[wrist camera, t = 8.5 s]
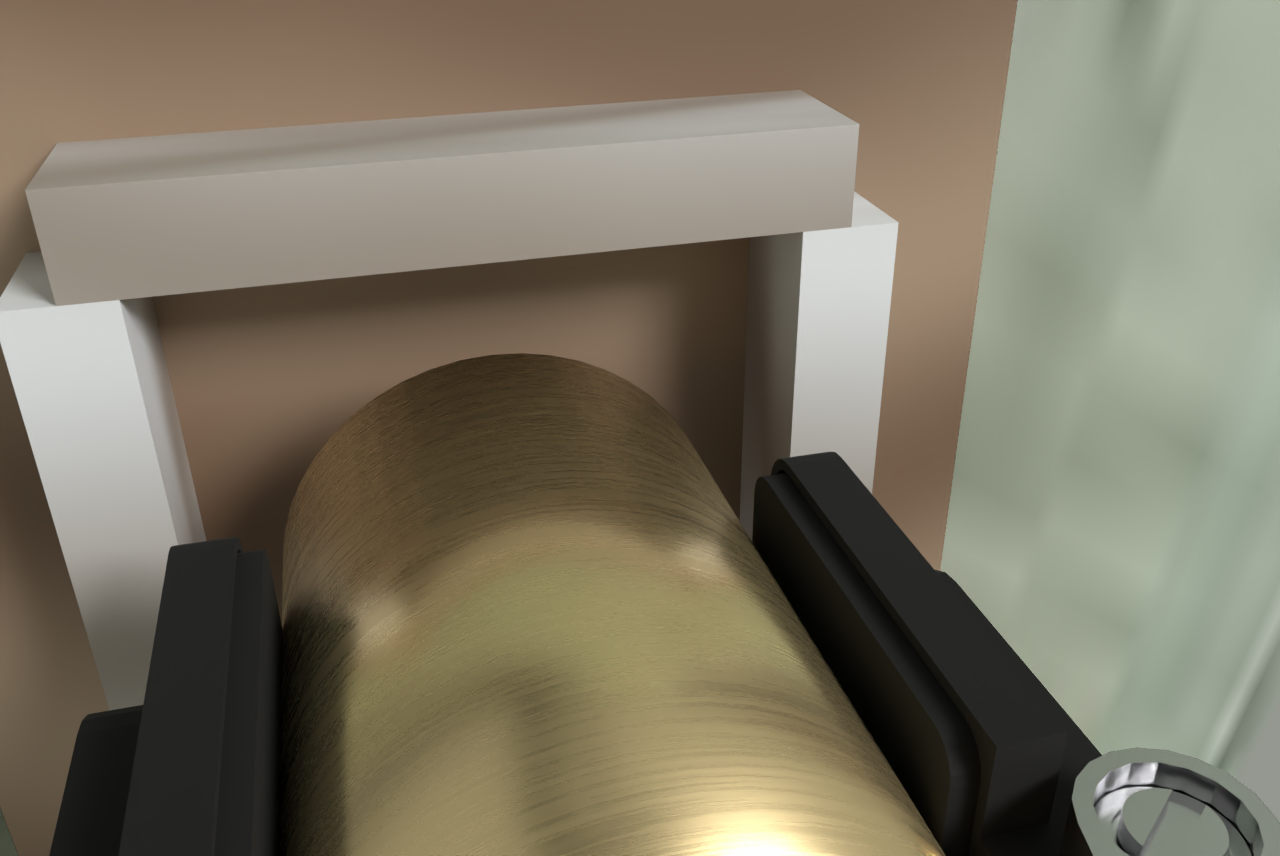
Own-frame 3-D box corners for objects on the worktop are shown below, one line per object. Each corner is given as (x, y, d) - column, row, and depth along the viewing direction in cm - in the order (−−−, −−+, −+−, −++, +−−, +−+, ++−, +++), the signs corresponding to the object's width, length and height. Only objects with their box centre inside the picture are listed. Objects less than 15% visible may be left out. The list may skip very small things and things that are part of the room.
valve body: (248, 382, 11) (187, 1143, 5) (714, 329, 11) (1166, 901, 6) (317, 748, 13) (338, 1597, 7) (706, 677, 14) (1028, 1365, 8)
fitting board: (-234, -30, 11) (-398, 24, 8) (956, -77, 13) (1112, -47, 11) (61, 828, 16) (17, 1025, 13) (874, 674, 19) (966, 814, 16)
